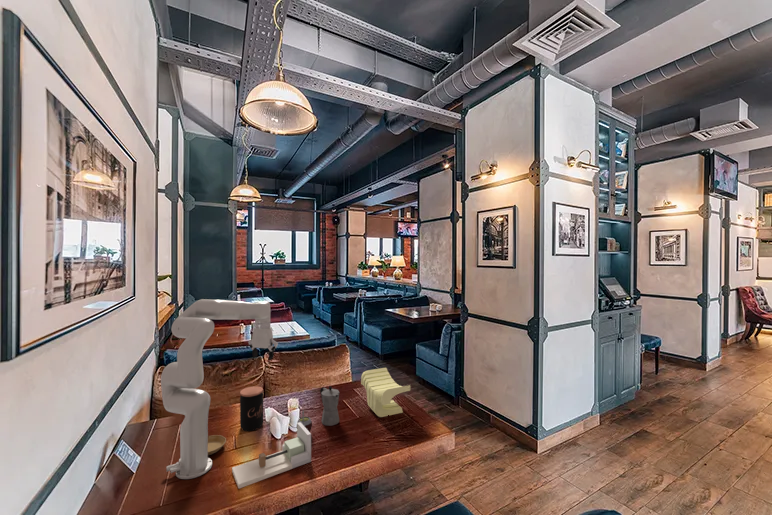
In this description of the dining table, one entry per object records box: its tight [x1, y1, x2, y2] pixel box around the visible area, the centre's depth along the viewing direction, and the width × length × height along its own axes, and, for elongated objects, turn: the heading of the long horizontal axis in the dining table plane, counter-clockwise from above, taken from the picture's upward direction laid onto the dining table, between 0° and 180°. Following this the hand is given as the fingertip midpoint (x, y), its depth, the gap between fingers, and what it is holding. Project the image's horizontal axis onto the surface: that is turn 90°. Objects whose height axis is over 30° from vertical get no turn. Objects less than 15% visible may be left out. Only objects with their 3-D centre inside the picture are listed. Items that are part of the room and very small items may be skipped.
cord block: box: [258, 436, 304, 467], centre depth 138 cm, size 17×7×5 cm, turn 125°
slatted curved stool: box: [360, 367, 411, 418], centre depth 185 cm, size 30×16×18 cm, turn 25°
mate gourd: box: [296, 409, 313, 433], centre depth 158 cm, size 8×8×15 cm
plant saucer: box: [208, 434, 227, 456], centre depth 147 cm, size 15×15×3 cm
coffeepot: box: [319, 386, 340, 427], centre depth 173 cm, size 15×9×18 cm, turn 44°
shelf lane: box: [231, 422, 312, 489], centre depth 136 cm, size 28×12×12 cm, turn 125°
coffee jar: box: [239, 385, 264, 432], centre depth 167 cm, size 11×11×18 cm
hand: (263, 357), depth 177 cm, fingers open, 9 cm apart
